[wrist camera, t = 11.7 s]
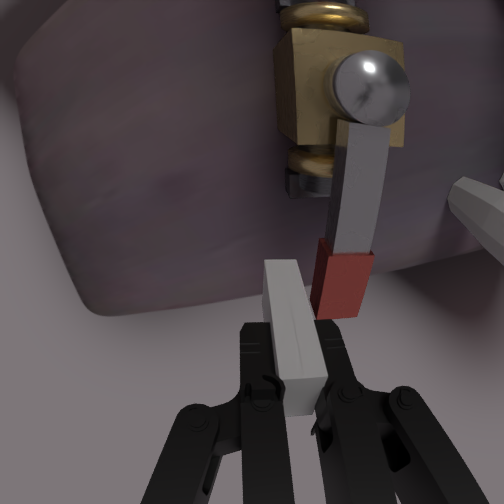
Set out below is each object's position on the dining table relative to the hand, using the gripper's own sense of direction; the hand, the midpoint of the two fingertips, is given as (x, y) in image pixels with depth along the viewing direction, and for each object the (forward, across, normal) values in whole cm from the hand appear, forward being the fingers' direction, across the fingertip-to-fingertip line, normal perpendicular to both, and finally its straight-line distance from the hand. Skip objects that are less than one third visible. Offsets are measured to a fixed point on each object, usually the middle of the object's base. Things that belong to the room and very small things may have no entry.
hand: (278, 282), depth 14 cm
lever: (+5, +5, +3) cm, 7 cm away
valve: (+13, +4, +10) cm, 17 cm away
